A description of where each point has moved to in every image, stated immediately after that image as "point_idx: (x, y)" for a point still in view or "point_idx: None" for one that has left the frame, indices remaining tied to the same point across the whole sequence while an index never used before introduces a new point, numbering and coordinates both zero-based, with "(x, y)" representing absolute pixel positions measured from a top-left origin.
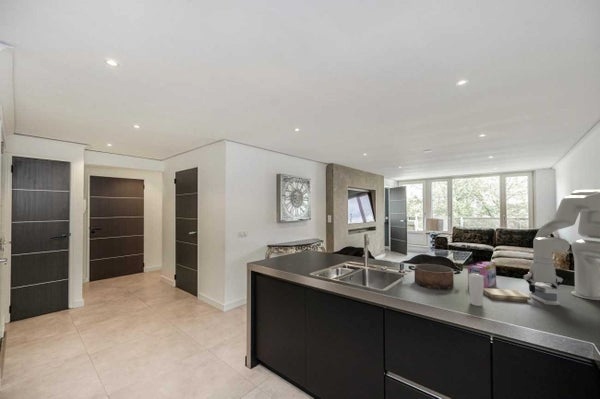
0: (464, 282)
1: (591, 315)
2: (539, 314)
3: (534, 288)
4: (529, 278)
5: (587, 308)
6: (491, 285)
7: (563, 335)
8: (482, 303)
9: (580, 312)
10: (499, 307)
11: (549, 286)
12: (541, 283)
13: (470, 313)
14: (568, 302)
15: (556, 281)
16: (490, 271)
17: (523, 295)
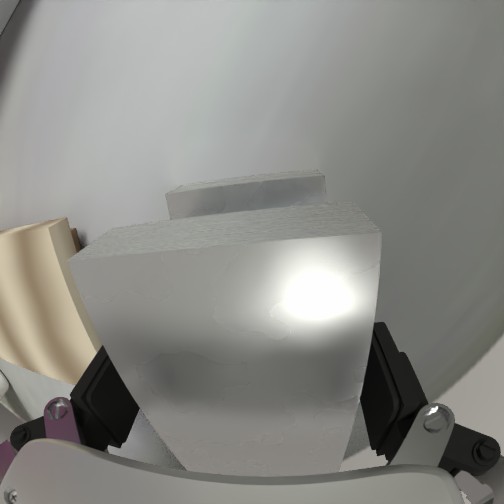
0: None
1: (368, 442)
2: (147, 450)
3: (130, 418)
4: (27, 446)
5: (454, 368)
6: (12, 9)
7: None
8: (6, 388)
9: (351, 431)
10: (40, 398)
11: (326, 445)
12: (322, 315)
13: (17, 413)
14: (451, 288)
15: (470, 473)
16: None
17: (81, 369)
